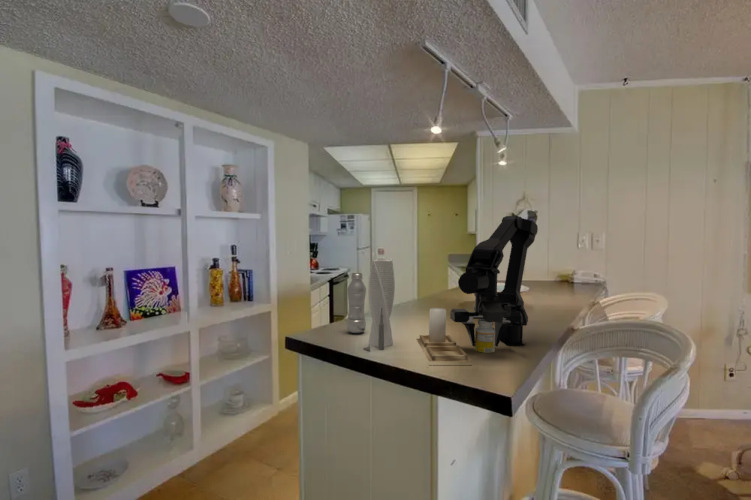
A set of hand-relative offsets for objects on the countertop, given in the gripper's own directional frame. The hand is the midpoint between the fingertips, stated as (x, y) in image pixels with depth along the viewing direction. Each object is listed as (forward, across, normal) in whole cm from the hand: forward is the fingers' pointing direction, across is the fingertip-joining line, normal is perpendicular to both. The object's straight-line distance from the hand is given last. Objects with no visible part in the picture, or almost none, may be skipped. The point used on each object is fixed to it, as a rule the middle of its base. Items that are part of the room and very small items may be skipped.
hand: (484, 346), depth 111 cm
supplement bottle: (+2, 0, 0) cm, 2 cm away
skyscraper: (+2, -29, +5) cm, 30 cm away
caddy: (+2, -12, +1) cm, 12 cm away
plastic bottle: (+2, -36, +24) cm, 43 cm away
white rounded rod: (+1, -12, +7) cm, 14 cm away
